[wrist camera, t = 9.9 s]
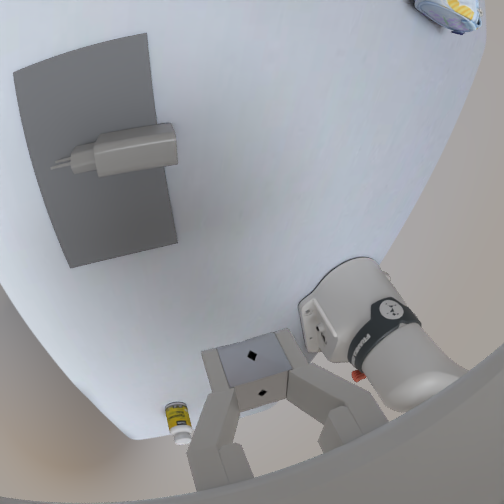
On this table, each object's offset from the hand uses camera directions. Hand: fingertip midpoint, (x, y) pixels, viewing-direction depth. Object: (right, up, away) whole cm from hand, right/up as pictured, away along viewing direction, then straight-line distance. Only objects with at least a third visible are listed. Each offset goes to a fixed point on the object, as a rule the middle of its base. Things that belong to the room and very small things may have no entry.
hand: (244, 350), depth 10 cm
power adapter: (-7, +14, +17) cm, 23 cm away
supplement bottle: (-16, -29, +48) cm, 58 cm away
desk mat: (-16, +13, +18) cm, 27 cm away
